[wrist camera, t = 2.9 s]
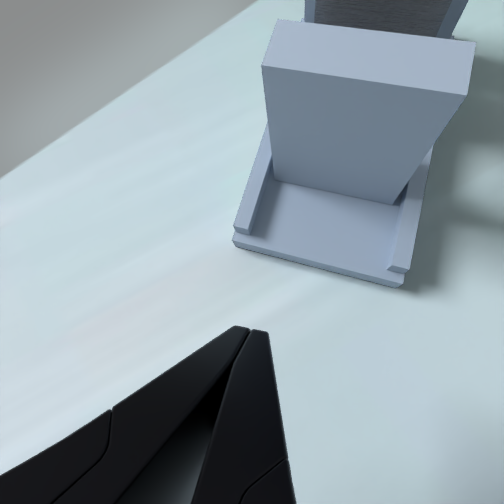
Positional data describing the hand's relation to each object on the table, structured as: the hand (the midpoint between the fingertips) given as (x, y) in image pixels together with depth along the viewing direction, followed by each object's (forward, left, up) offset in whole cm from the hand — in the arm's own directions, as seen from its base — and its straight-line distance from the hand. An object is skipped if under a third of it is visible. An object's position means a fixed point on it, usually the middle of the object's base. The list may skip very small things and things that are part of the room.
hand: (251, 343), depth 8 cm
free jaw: (+3, -9, -9) cm, 13 cm away
